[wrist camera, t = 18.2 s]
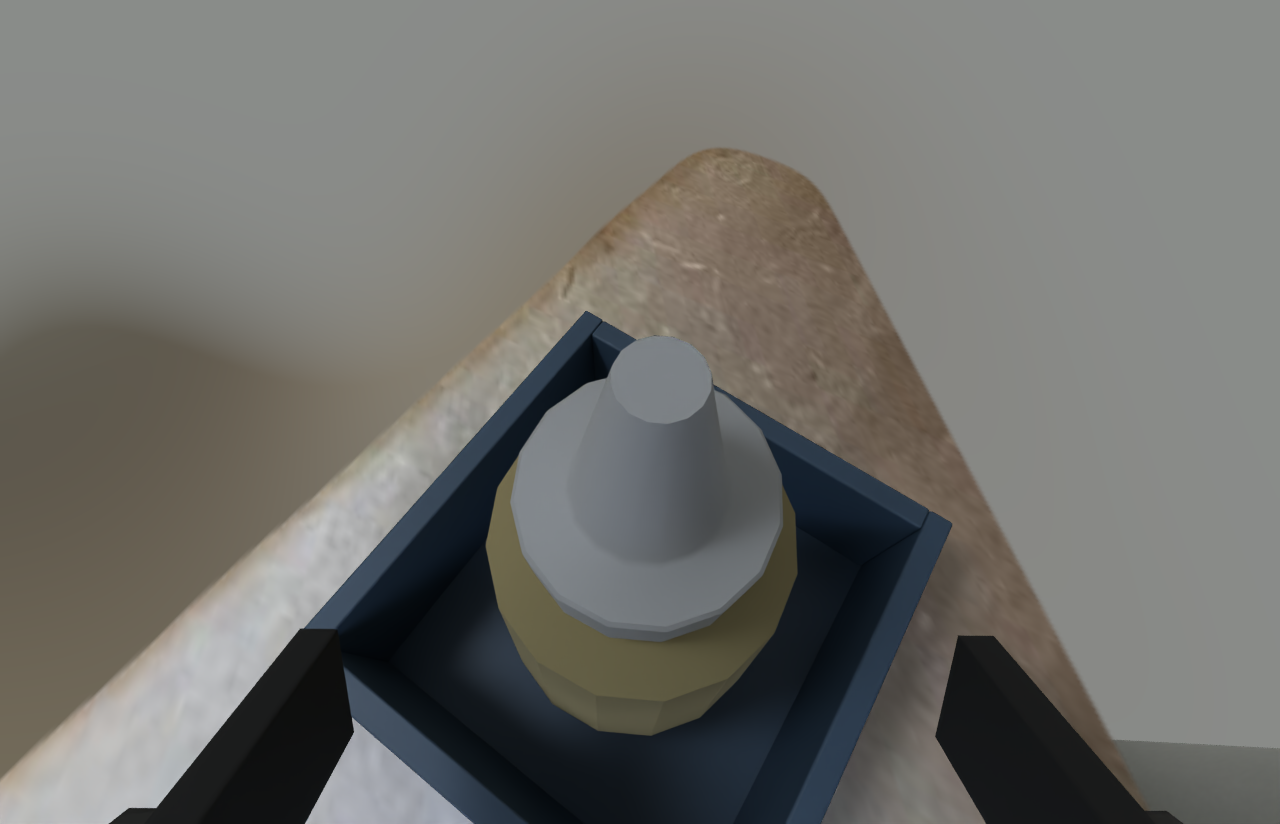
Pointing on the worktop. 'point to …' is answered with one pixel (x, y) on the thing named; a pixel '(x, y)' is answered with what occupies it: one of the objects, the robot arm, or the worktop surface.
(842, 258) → the worktop surface
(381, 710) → the bin
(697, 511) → the squeeze bottle
